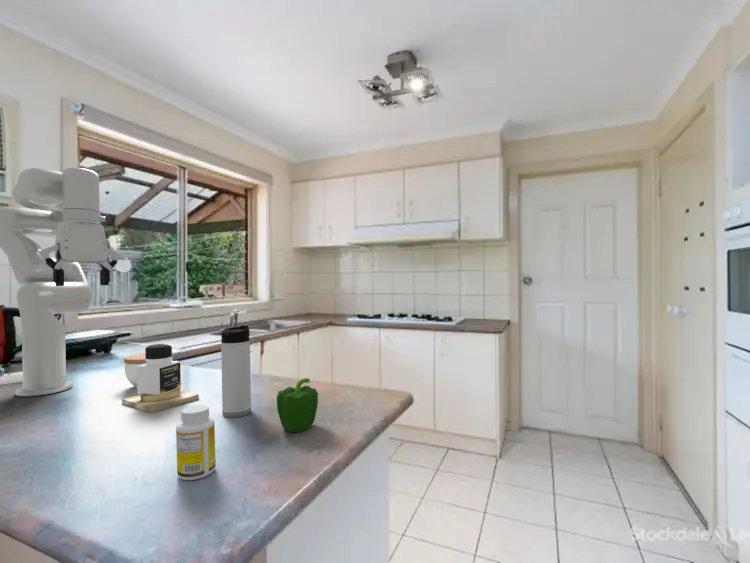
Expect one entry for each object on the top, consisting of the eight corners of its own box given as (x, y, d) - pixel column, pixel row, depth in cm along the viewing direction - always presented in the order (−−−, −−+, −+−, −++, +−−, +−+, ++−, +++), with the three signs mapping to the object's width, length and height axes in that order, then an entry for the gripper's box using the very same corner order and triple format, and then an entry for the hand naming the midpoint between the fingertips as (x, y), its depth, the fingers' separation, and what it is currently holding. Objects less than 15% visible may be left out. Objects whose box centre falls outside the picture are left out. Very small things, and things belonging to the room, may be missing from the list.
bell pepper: (275, 438, 74) (274, 386, 74) (278, 422, 82) (277, 376, 82) (319, 433, 76) (318, 383, 76) (317, 419, 84) (316, 373, 84)
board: (122, 403, 98) (122, 393, 98) (168, 391, 108) (168, 382, 108) (151, 412, 90) (151, 401, 90) (198, 399, 100) (198, 388, 100)
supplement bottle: (205, 461, 65) (204, 401, 65) (222, 471, 61) (220, 407, 61) (170, 474, 61) (169, 410, 61) (186, 486, 57) (185, 417, 57)
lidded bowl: (145, 379, 122) (145, 345, 122) (182, 380, 120) (181, 345, 120) (113, 391, 110) (112, 352, 110) (153, 392, 108) (152, 353, 108)
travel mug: (257, 410, 91) (256, 325, 91) (237, 419, 85) (235, 329, 85) (237, 406, 94) (236, 324, 94) (216, 415, 88) (214, 328, 88)
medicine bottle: (160, 395, 95) (159, 347, 95) (136, 394, 96) (135, 346, 96) (181, 387, 102) (180, 342, 102) (158, 386, 103) (158, 342, 103)
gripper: (112, 223, 107) (113, 285, 107) (32, 215, 92) (33, 286, 92) (125, 221, 103) (127, 284, 103) (44, 211, 88) (46, 286, 88)
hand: (83, 285), depth 98 cm, fingers open, 9 cm apart
